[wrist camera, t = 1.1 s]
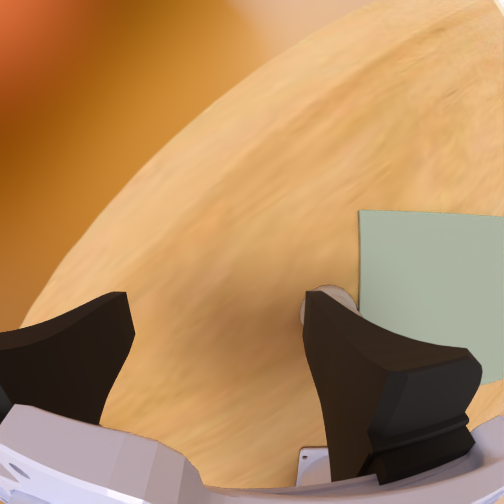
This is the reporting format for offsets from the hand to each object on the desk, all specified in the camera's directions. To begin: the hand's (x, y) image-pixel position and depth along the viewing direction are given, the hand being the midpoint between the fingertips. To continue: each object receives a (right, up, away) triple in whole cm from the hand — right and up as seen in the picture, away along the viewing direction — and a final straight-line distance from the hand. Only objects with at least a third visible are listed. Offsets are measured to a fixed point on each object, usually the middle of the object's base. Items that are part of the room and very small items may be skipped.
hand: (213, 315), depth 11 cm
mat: (+18, -2, +10) cm, 21 cm away
